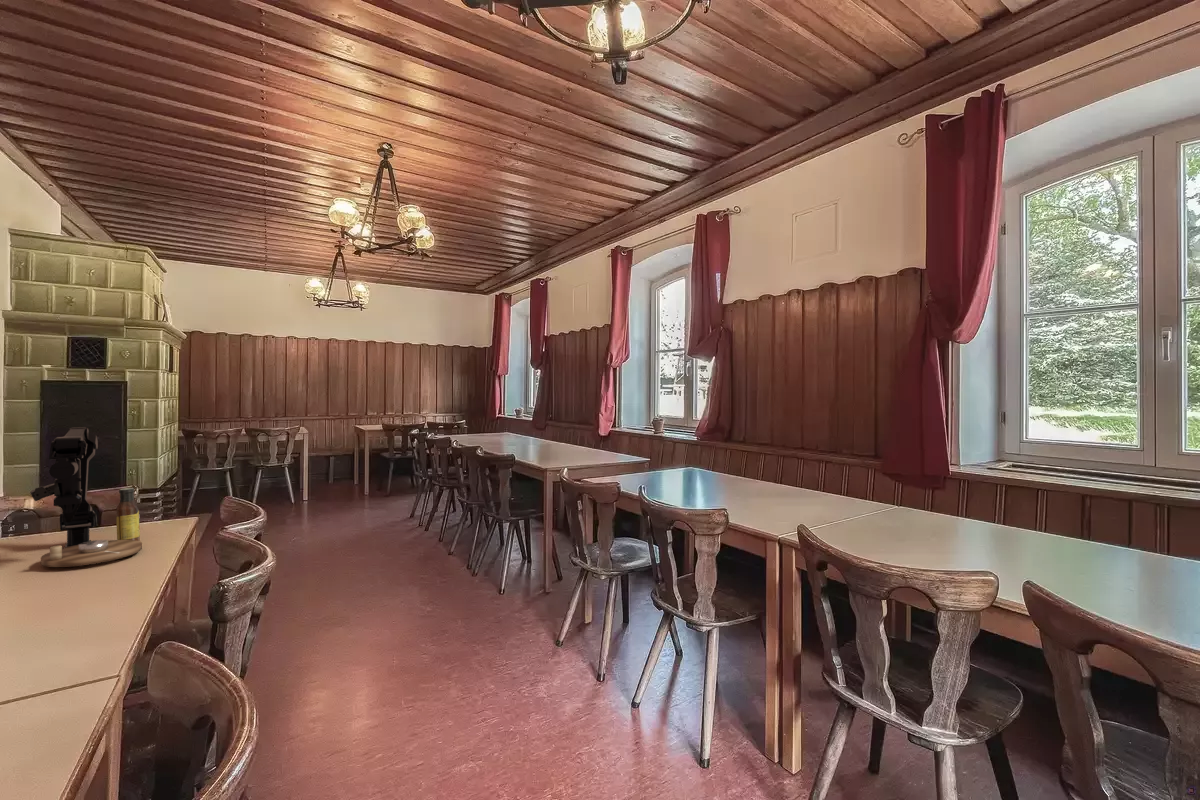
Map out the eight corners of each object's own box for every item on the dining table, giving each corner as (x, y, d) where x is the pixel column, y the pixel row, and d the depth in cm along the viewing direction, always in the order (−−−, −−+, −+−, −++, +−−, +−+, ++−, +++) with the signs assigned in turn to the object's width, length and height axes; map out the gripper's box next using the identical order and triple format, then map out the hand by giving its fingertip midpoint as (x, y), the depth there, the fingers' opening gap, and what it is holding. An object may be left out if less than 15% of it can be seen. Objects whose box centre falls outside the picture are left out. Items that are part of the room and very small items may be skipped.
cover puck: (73, 552, 169) (73, 544, 169) (98, 546, 176) (98, 539, 176) (89, 554, 168) (89, 546, 168) (113, 548, 175) (113, 540, 175)
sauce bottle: (144, 540, 194) (144, 487, 193) (127, 545, 187) (127, 490, 187) (128, 539, 194) (128, 486, 194) (111, 544, 188) (111, 489, 188)
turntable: (20, 562, 164) (20, 545, 163) (108, 541, 187) (108, 526, 187) (76, 570, 158) (76, 551, 158) (160, 547, 181) (160, 531, 181)
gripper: (34, 474, 173) (34, 521, 173) (29, 481, 160) (30, 532, 160) (82, 471, 181) (82, 515, 181) (81, 477, 167) (81, 526, 168)
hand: (68, 522), depth 172 cm, fingers closed
